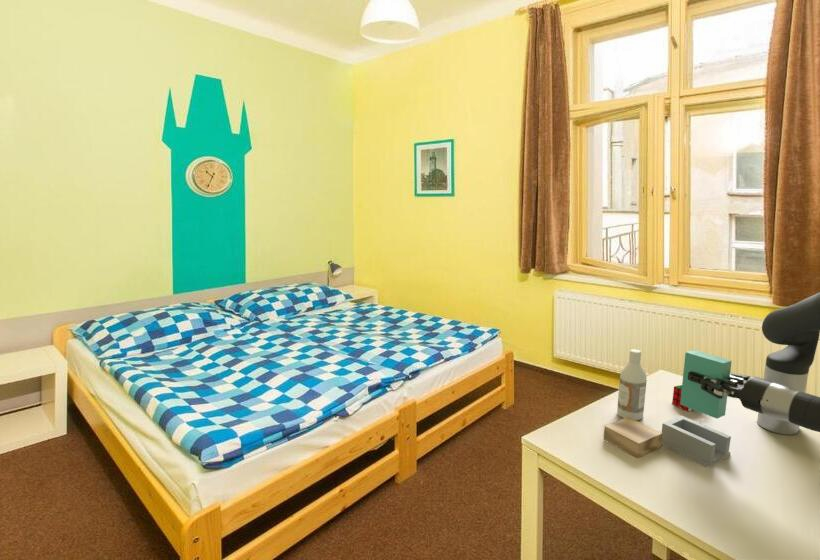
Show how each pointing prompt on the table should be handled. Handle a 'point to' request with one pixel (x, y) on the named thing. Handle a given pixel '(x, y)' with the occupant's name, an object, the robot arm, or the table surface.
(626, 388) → the bath foam
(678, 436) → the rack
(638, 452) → the wooden square base
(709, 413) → the teal rectangular block
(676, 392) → the puzzle toy
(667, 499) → the table surface
